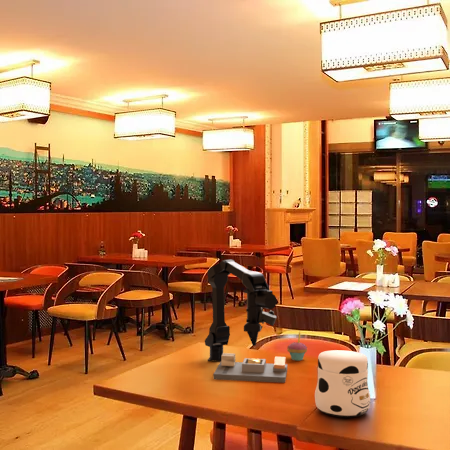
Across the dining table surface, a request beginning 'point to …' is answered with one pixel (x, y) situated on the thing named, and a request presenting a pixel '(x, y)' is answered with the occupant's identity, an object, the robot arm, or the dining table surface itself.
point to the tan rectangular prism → (228, 359)
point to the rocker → (280, 362)
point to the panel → (251, 372)
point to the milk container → (342, 383)
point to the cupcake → (297, 350)
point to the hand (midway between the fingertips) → (254, 345)
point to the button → (254, 361)
